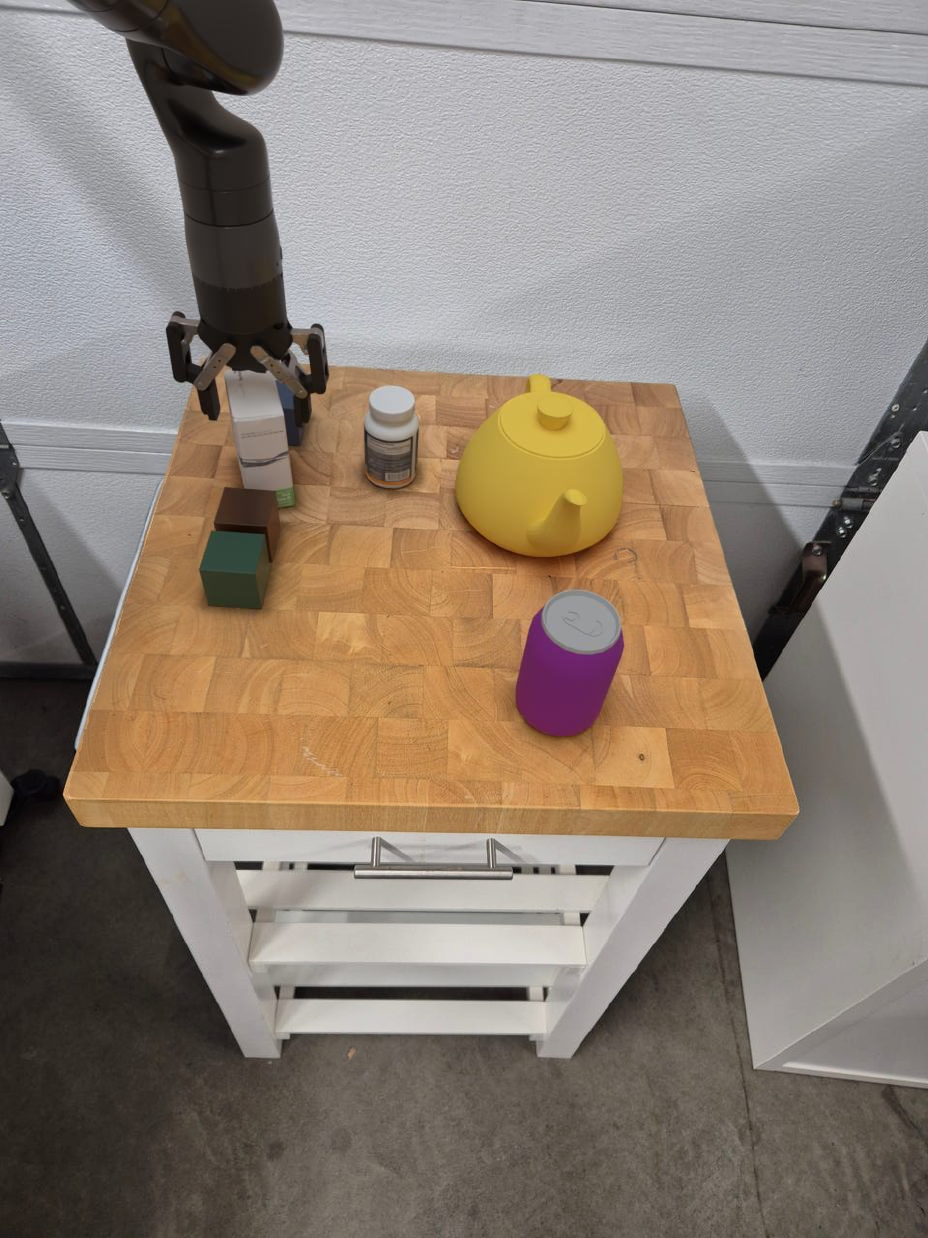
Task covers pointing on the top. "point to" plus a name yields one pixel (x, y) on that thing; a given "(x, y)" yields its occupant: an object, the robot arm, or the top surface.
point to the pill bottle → (391, 437)
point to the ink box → (260, 433)
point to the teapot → (541, 474)
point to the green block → (235, 569)
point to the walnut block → (250, 514)
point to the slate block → (289, 414)
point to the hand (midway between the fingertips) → (258, 419)
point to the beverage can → (569, 662)
